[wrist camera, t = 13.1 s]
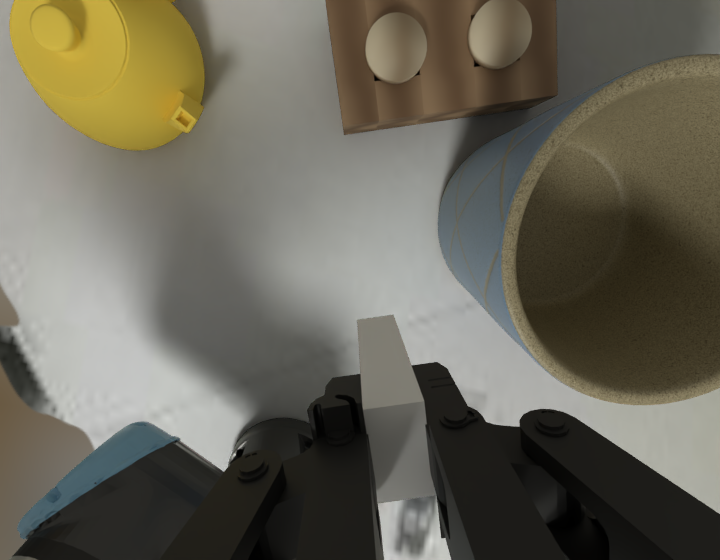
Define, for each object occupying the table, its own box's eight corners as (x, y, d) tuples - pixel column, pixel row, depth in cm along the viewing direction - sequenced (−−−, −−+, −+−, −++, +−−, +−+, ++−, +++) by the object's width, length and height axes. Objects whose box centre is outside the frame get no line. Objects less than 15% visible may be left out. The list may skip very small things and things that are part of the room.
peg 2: (452, 89, 43) (473, 69, 36) (448, 33, 42) (468, 1, 35) (503, 82, 43) (532, 61, 36) (500, 26, 42) (530, -8, 35)
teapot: (35, 91, 42) (-95, 49, 30) (116, -67, 39) (8, -187, 27) (190, 199, 45) (131, 201, 33) (277, 61, 42) (247, 6, 30)
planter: (605, 108, 44) (877, 18, 21) (610, 291, 50) (833, 376, 27) (415, 143, 45) (483, 91, 22) (439, 321, 50) (515, 431, 27)
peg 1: (366, 102, 43) (370, 84, 36) (359, 46, 42) (361, 17, 35) (416, 95, 43) (429, 76, 36) (411, 39, 42) (423, 8, 35)
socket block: (344, 134, 44) (343, 125, 38) (328, 20, 41) (324, -8, 36) (530, 107, 44) (557, 95, 38) (526, -9, 41) (555, -42, 35)
